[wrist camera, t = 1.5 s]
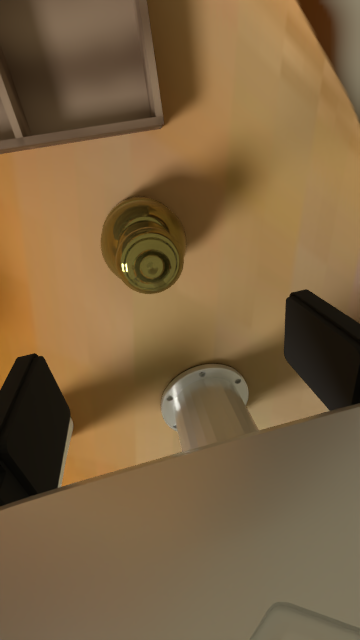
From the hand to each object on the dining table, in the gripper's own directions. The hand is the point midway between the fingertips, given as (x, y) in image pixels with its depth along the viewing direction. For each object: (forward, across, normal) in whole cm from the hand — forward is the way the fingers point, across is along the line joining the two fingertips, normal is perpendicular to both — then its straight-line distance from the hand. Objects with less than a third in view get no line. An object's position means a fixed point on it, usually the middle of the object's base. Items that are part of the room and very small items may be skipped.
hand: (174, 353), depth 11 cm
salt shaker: (+20, 0, 0) cm, 21 cm away
